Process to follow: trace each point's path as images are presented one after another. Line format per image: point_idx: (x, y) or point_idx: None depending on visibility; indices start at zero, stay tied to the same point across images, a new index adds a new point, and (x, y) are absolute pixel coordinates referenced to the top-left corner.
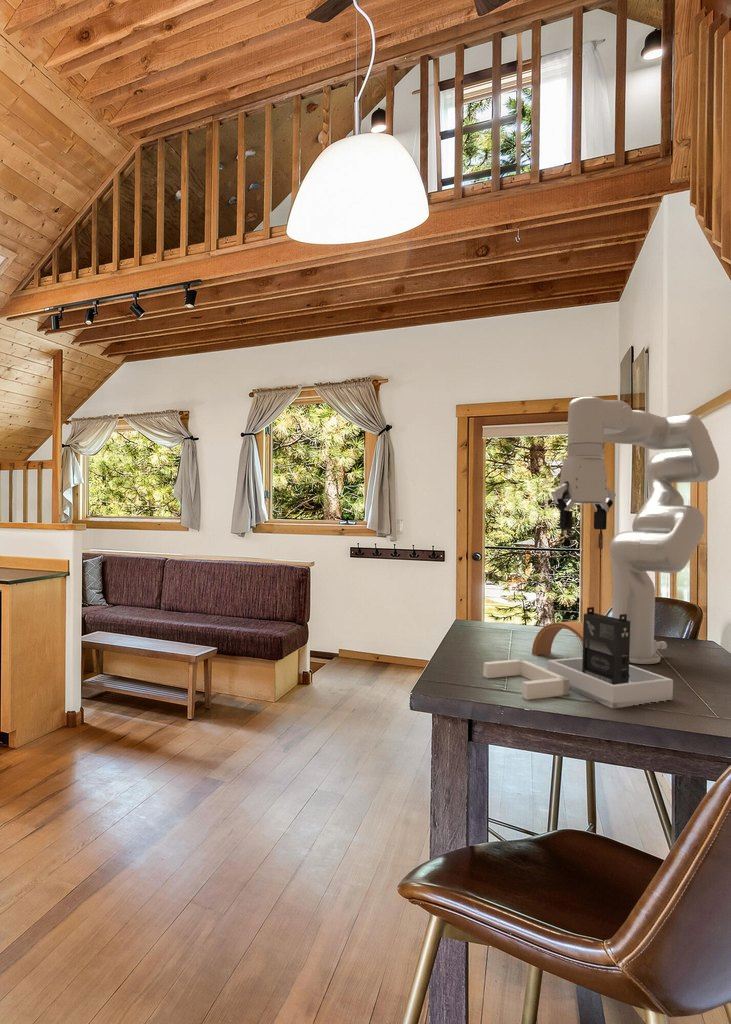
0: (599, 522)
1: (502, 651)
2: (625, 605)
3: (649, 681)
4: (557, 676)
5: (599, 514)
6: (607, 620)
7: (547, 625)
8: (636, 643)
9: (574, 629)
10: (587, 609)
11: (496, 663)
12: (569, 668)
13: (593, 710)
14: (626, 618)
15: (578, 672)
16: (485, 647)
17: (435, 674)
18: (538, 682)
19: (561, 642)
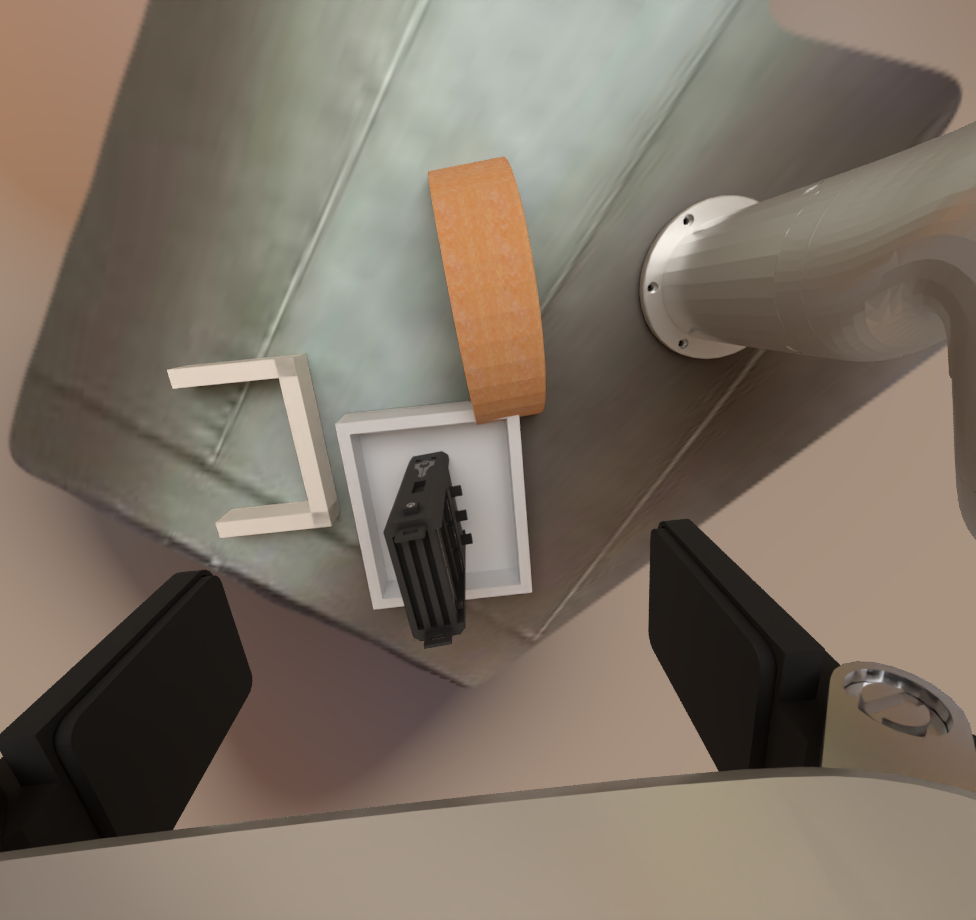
0: (679, 639)
1: (343, 117)
2: (753, 310)
3: (472, 594)
4: (314, 504)
5: (731, 722)
6: (406, 608)
7: (437, 229)
8: (703, 335)
9: (463, 362)
10: (395, 538)
11: (201, 385)
12: (353, 493)
13: (340, 585)
14: (451, 635)
15: (357, 523)
16: (302, 43)
17: (59, 326)
18: (249, 533)
19: (636, 28)
